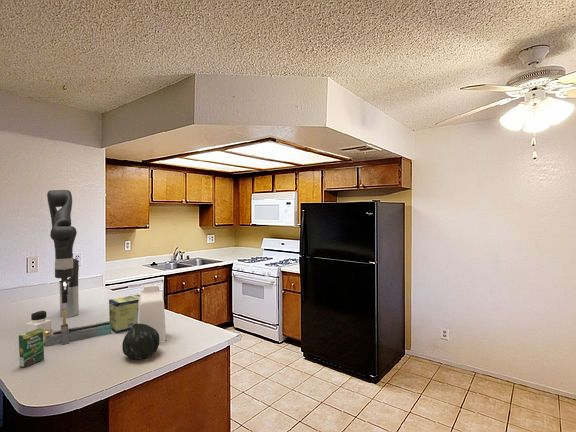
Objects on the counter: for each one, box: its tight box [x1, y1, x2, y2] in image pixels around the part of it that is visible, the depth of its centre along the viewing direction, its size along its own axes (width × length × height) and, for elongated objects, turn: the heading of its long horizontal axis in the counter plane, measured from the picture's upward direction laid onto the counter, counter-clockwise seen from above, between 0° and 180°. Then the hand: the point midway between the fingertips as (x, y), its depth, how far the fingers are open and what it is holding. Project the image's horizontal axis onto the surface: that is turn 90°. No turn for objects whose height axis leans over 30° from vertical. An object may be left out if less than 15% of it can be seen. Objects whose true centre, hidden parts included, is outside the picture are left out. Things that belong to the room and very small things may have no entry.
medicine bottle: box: [26, 310, 52, 338], centre depth 166 cm, size 7×7×12 cm
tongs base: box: [43, 323, 113, 347], centre depth 164 cm, size 11×29×6 cm, turn 126°
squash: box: [121, 323, 160, 360], centre depth 144 cm, size 14×15×15 cm
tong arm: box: [52, 320, 110, 335], centre depth 167 cm, size 2×24×4 cm, turn 127°
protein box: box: [108, 294, 141, 335], centre depth 178 cm, size 10×16×16 cm
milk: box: [138, 284, 167, 343], centre depth 162 cm, size 12×12×26 cm
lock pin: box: [61, 309, 67, 326], centre depth 164 cm, size 2×2×9 cm
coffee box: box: [18, 328, 45, 369], centre depth 137 cm, size 8×3×13 cm, turn 159°
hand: (64, 302), depth 164 cm, fingers closed
